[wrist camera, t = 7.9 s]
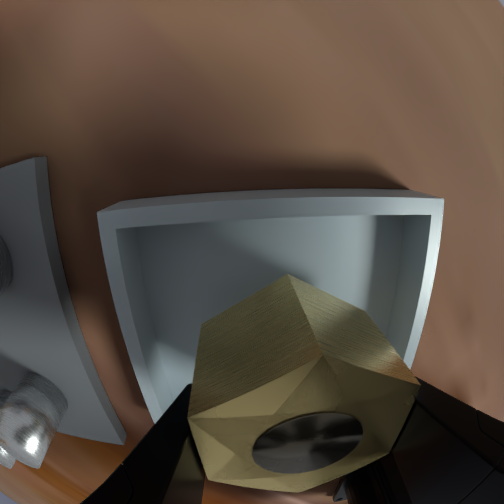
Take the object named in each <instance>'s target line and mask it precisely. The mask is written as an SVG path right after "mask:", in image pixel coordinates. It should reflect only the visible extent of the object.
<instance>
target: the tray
mask: <svg viewBox="0 0 504 504" xmlns="http://www.w3.org/2000/svg"><path fill="white" fill-rule="evenodd" d="M443 208H444V199H443V198H439V197H436V196H432V195H428V194H425V193H421V192H417V191H413V190H401V189H360V188H314V189H272V190H248V191H229V192H212V193H198V194H185V195H173V196H162V197H152V198H142V199H133V200H124V201H120V202H118V203H116V204H114V205H111V206H109V207H107V208H105V209H102V210H100V211H98V212H97V219H98V225H99V232H100V238H101V244H102V250H103V255H104V260H105V265H106V270H107V275H108V280H109V284H110V288H111V293H112V297H113V301H114V305H115V309H116V313H117V317H118V320H119V324H120V327H121V331H122V334H123V338H124V341H125V344H126V348H127V351H128V354H129V357H130V360H131V363H132V366H133V369H134V372H135V375H136V378H137V381H138V383H139V386H140V389H141V392H142V394H143V397H144V399H145V402H146V405H147V407H148V410H149V412H150V415H151V417H152V419H153V422H154V424H155V423H156V422H157V421H158V420H159V418H160V417H161V416H162V415H163V414H164V412H165V411H166V410H167V409H168V407H169V406H170V405H171V404H172V403H173V401H174V400H175V399H176V398H177V397H178V395H179V394H180V393H181V392H182V390H183V389H184V388H185V387H186V385H188V384H190V383H192V381H193V374H194V368H195V361H196V355H197V348H198V342H199V336H200V330H201V324H202V323H204V322H206V321H208V320H210V319H211V318H213V317H215V316H217V315H218V314H220V313H222V312H224V311H225V310H227V309H229V308H230V307H232V306H234V305H236V304H237V303H239V302H241V301H242V300H244V299H246V298H248V297H249V296H251V295H253V294H254V293H256V292H258V291H259V290H261V289H263V288H265V287H266V286H268V285H270V284H271V283H273V282H275V281H276V280H278V279H280V278H281V277H283V276H285V275H286V274H289V275H291V276H293V277H295V278H297V279H299V280H301V281H303V282H306V283H308V284H310V285H312V286H314V287H316V288H318V289H320V290H322V291H324V292H327V293H329V294H331V295H333V296H335V297H337V298H339V299H341V300H343V301H345V302H348V303H350V304H352V305H354V306H356V307H358V308H360V309H362V310H364V311H365V312H366V313H367V314H368V315H369V317H370V318H371V319H372V321H373V322H374V323H375V324H376V326H377V327H378V328H379V330H380V331H381V332H382V333H383V335H384V336H385V337H386V339H387V340H388V341H389V343H390V344H391V345H392V347H393V348H394V349H395V351H396V352H397V353H398V354H399V356H400V357H401V359H402V360H403V361H404V363H405V364H406V365H407V367H408V368H409V369H411V366H412V363H413V359H414V356H415V353H416V350H417V346H418V343H419V340H420V336H421V332H422V329H423V325H424V321H425V317H426V313H427V309H428V305H429V300H430V296H431V291H432V286H433V281H434V276H435V270H436V264H437V258H438V251H439V244H440V237H441V228H442V219H443Z"/></svg>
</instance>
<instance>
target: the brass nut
mask: <svg viewBox="0 0 504 504" xmlns="http://www.w3.org/2000/svg"><path fill="white" fill-rule="evenodd" d="M420 386H421V384H420V383H419V382H418V380H417V379H416V378H415V376H414V375H413V373H412V372H411V371H410V369H409V368H408V367H407V365H406V364H405V363H404V361H403V360H402V359H401V357H400V356H399V354H398V353H397V352H396V351H395V349H394V348H393V347H392V345H391V344H390V343H389V341H388V340H387V339H386V337H385V336H384V335H383V333H382V332H381V331H380V330H379V328H378V327H377V326H376V324H375V323H374V322H373V321H372V319H371V318H370V317H369V315H368V314H367V313H366V312H365V311H364V310H362V309H360V308H358V307H356V306H354V305H352V304H350V303H348V302H345V301H343V300H341V299H339V298H337V297H335V296H333V295H331V294H329V293H327V292H324V291H322V290H320V289H318V288H316V287H314V286H312V285H310V284H308V283H306V282H303V281H301V280H299V279H297V278H295V277H293V276H291V275H289V274H286V275H285V276H283V277H281V278H280V279H278V280H276V281H275V282H273V283H271V284H270V285H268V286H266V287H265V288H263V289H261V290H259V291H258V292H256V293H254V294H253V295H251V296H249V297H248V298H246V299H244V300H242V301H241V302H239V303H237V304H236V305H234V306H232V307H230V308H229V309H227V310H225V311H224V312H222V313H220V314H218V315H217V316H215V317H213V318H211V319H210V320H208V321H206V322H204V323H202V324H201V330H200V336H199V342H198V348H197V355H196V361H195V368H194V374H193V381H192V388H191V395H190V402H189V410H188V417H187V418H188V421H189V425H190V428H191V431H192V434H193V437H194V440H195V444H196V447H197V450H198V453H199V455H200V458H201V461H202V464H203V467H204V470H205V472H206V475H207V478H208V480H211V481H216V482H221V483H226V484H231V485H237V486H243V487H250V488H257V489H265V490H274V491H285V492H302V491H305V490H308V489H310V488H313V487H316V486H319V485H321V484H324V483H326V482H329V481H331V480H334V479H336V478H339V477H341V476H343V475H346V474H348V473H350V472H352V471H355V470H357V469H359V468H361V467H363V466H365V465H367V464H369V463H371V462H373V461H375V460H377V459H379V458H381V457H383V456H385V455H387V454H388V453H389V452H390V450H391V448H392V446H393V444H394V442H395V440H396V438H397V437H398V435H399V433H400V431H401V429H402V427H403V425H404V423H405V420H406V418H407V416H408V414H409V412H410V410H411V407H412V405H413V403H414V401H415V398H416V396H417V394H418V391H419V389H420Z"/></svg>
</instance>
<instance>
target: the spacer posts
mask: <svg viewBox="0 0 504 504" xmlns="http://www.w3.org/2000/svg"><path fill="white" fill-rule="evenodd" d="M12 280H13V262H12V258H11V254H10V251H9V249H8V246H7V244H6V242H5V240H4V239H3V237H2V236H1V235H0V294H2V293H3V292H4V291H6V290H7V289H8V288H9V287H10V285H11V283H12ZM67 409H68V402H67V399H66V397H65V396H64V394H63V393H62V392H61V390H60V389H59V388H58V387H57V386H56V385H55V384H54V383H53V382H51V381H50V380H49V379H47V378H46V377H44V376H42V375H40V374H38V373H34V372H28V373H26V374H25V375H24V376H23V378H22V379H21V380H20V382H19V383H18V384H17V386H16V387H15V389H14V390H13V391H12V392H11V391H9V390H6V389H2V390H1V391H0V464H1V465H3V466H5V467H7V468H10V469H11V468H12V467H13V465H14V463H15V461H16V459H17V460H18V461H20V462H22V463H23V464H25V465H27V466H30V467H33V468H40V466H41V464H42V461H43V459H44V457H45V455H46V452H47V450H48V448H49V446H50V444H51V442H52V440H53V437H54V435H55V433H56V431H57V429H58V427H59V425H60V423H61V421H62V419H63V417H64V415H65V413H66V411H67Z"/></svg>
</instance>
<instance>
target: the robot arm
mask: <svg viewBox="0 0 504 504" xmlns="http://www.w3.org/2000/svg"><path fill="white" fill-rule="evenodd" d="M415 378H416V379H417V380H418V382H419V383H420V384H421V386H420V389H419V391H418V394H417V396H416V398H415V401H414V403H413V405H412V407H411V410H410V412H409V414H408V416H407V418H406V420H405V423H404V425H403V427H402V429H401V431H400V433H399V435H398V437H397V438H396V440H395V442H394V444H393V446H392V448H391V450H392V453H389V454H387V455H385V456H383V457H381V458H379V459H377V460H375V461H373V462H371V463H369V464H367V465H365V466H363V467H361V468H359V469H357V470H355V471H352V472H350V473H348V474H346V475H343V476H342V478H341V480H340V482H339V485H338V487H337V489H336V491H335V493H334V495H333V501H334V502H337V501H342V500H346V499H347V500H348V503H349V504H504V422H502V421H500V420H497V419H495V418H493V417H491V416H489V415H487V414H485V413H483V412H481V411H479V410H476V409H475V408H473V407H471V406H469V405H468V404H466V403H464V402H462V401H460V400H458V399H456V398H454V397H452V396H451V395H449V394H447V393H445V392H443V391H441V390H439V389H438V388H436V387H434V386H432V385H430V384H428V383H427V382H425V381H423V380H421V379H419V378H417V377H416V376H415ZM191 388H192V383H190V384H188V385H186V387H185V388H184V389H183V390H182V392H181V393H180V394H179V395H178V397H177V398H176V399H175V400H174V401H173V403H172V404H171V405H170V406H169V407H168V409H167V410H166V411H165V412H164V414H163V415H162V416H161V417H160V418H159V420H158V421H157V422H156V423H155V424H154V426H153V427H152V428H151V429H150V430H149V431H148V433H147V434H146V435H145V436H144V437H143V439H142V440H141V441H140V442H139V443H138V444H137V446H136V447H135V448H134V449H133V450H132V451H131V453H130V454H129V455H128V456H127V457H126V458H125V460H124V461H123V462H122V464H123V465H122V464H120V465H119V466H118V467H117V469H116V470H115V471H114V472H113V473H112V474H111V475H110V476H109V477H108V478H107V479H106V481H105V482H104V483H103V484H102V485H101V486H100V487H98V488H97V489H96V490H95V491H94V492H93V493H92V494H91V495H90V496H88V497H87V498H86V499H85V500H84V501H82V502H81V503H80V504H201V503H202V495H203V487H204V479H205V470H204V467H203V464H202V461H201V458H200V455H199V453H198V450H197V447H196V444H195V440H194V437H193V434H192V431H191V428H190V425H189V421H188V418H187V417H188V410H189V402H190V395H191Z"/></svg>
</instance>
